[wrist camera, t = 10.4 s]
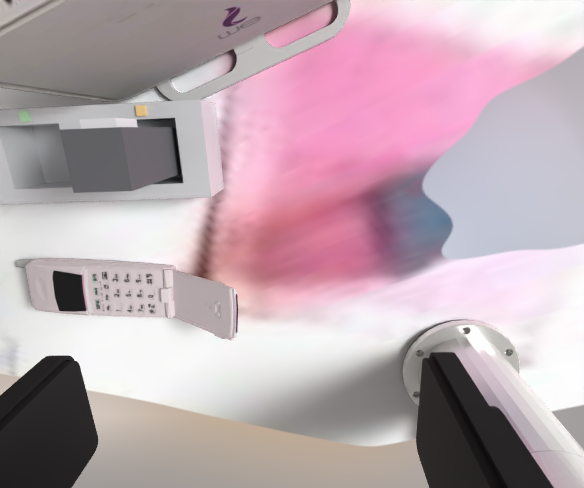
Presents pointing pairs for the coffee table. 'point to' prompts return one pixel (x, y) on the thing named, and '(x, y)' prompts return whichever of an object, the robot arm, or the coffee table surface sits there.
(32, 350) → the coffee table surface
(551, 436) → the robot arm
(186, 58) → the network device
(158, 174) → the plug
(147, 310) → the mobile phone
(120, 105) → the socket block
